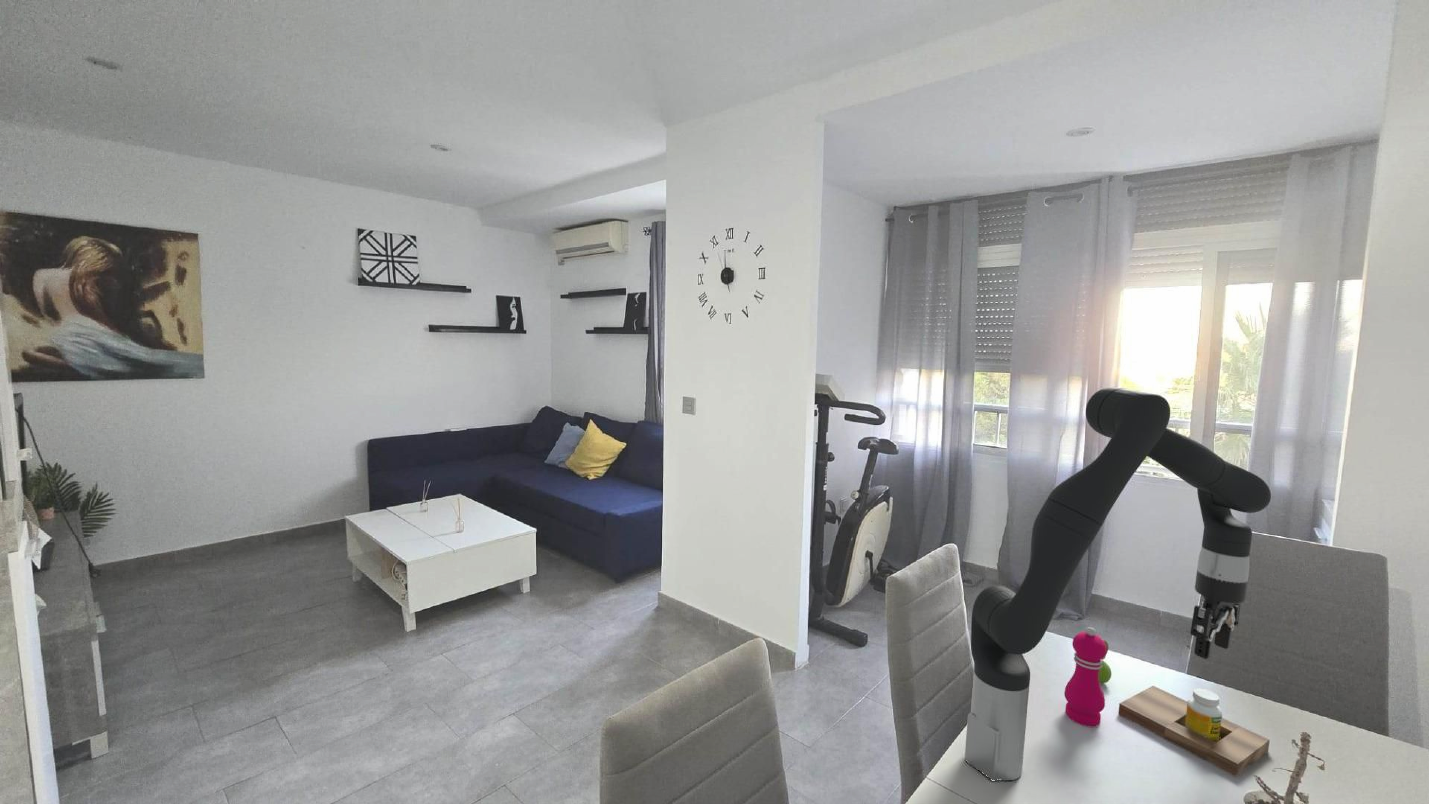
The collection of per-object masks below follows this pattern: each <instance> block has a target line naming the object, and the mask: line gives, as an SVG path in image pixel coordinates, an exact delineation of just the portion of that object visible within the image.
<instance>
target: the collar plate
mask: <svg viewBox="0 0 1429 804" xmlns="http://www.w3.org/2000/svg"><path fill="white" fill-rule="evenodd" d="M1187 703H1188V700H1185V699H1183V698H1180V697H1178V696H1177V695H1174V694H1173V693H1170V692H1167V691H1165V690H1163V689H1161V688H1159V687H1157V686H1155V685H1152V686H1150V687H1147V688H1145V689H1144V690H1142V691H1140V692H1138V693H1137V694H1135V695H1133V696H1131V697H1129V698H1126V699H1125V700H1123V701H1122V702H1121V701H1120V703H1119V704H1118V715H1119V716H1121V717H1123V718H1124V719H1126V720H1128V721H1130V722H1132V723H1135V724H1136V725H1137V726H1140V727H1142V728H1143V729H1145V730H1148V731H1149V732H1150V733H1153V734H1155V735H1157V736H1158V737H1161V738H1162V739H1164V740H1166V741H1168V742H1170V743H1172V744H1173V745H1176V747H1179V748H1181V749H1183V750H1185V751H1187V752H1189V753H1191V754H1193V755H1195V756H1197V757H1199V758H1200V759H1202V760H1205V761H1206V762H1208V763H1210V764H1212V765H1213V766H1216V767H1218V768H1219V769H1222V770H1223V771H1225V772H1227V773H1228V774H1230V775H1232V776H1234V777H1238V776H1239V775H1240V774H1242V773H1243V772H1244V771H1245V770H1247V769H1248V768H1249V767H1251V766H1252V765H1253V764H1254V763H1255V762H1258V760H1259V759H1262V757H1264V755H1266V754H1267V753H1268V752H1269V747H1270V739H1269V738H1267V737H1264V736H1262V735H1260V734H1258V733H1256V732H1253V730H1249V729H1247V728H1246V727H1244V726H1241V725H1239V724H1236V723H1234V722H1232V721H1230V720H1228V719H1226V718H1223V717H1222V719H1221V727H1220V735H1219V741H1218V742H1217V743H1216V742H1214V741H1212V740H1210V739H1208V738H1206V737H1204V736H1202V735H1200V734H1198V733H1196V732H1194V731H1192V730H1190V729H1188V728H1186V727H1185V720H1186V711H1187Z"/></svg>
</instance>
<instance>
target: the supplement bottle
mask: <svg viewBox="0 0 1429 804" xmlns="http://www.w3.org/2000/svg"><path fill="white" fill-rule="evenodd" d="M1187 702H1188V703H1187V711H1186V720H1185V726H1184V727H1186V728H1188V729H1190V730H1192V731H1194V732H1196V733H1198V734H1200V735H1202V736H1204V737H1206V738H1208V739H1210V740H1212V741H1214V742H1216V743H1217V742H1218V741H1220V738H1219V735H1220V727H1221V719H1222V718H1223V717H1222V716H1223V710H1222V709H1221V707H1220V706H1219V705H1220V697H1219V696H1218V694H1216V693H1215V692H1212V691H1210V690H1208V689H1204V688H1193V690H1192V697H1189V698H1188V700H1187Z"/></svg>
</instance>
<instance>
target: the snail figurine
mask: <svg viewBox="0 0 1429 804" xmlns="http://www.w3.org/2000/svg"><path fill="white" fill-rule="evenodd" d="M1101 639H1102V640H1103V641H1104V643H1105V645H1106V649H1107V652H1106V655H1105V657H1104V658H1102V661H1103V663H1102V668H1101V669H1099V684H1100V685H1102V684H1103V685H1104V684H1106V683H1108V682H1110V680H1111V678H1112V670H1111V667H1110V666H1109V665H1108V663H1107V662H1106V661H1104V660H1105V659H1106V656H1107V653H1108V651H1109V643H1108V641H1107V640H1106V639H1103V638H1101Z"/></svg>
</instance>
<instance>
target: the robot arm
mask: <svg viewBox="0 0 1429 804" xmlns="http://www.w3.org/2000/svg"><path fill="white" fill-rule="evenodd" d="M1170 417H1171V408H1170V404H1169V402H1168V400H1167V399H1166V398H1165V397H1163V396H1162V395H1160V394H1157V393H1153V392H1148V391H1143V390H1136V389H1132V388H1131V389H1130V388H1126V387H1117V386H1115V387H1111V386H1110V387H1105V388H1102V389H1100V390H1097V391H1096V392H1094V393H1093V395H1091V397H1090V398H1089V400H1088V401H1087V404H1086V407H1085V418H1086V421H1087V424H1088V425H1089V427H1091V429H1092V430H1093V431H1094V432H1097V433H1098V434H1100V436H1101V435H1102V436H1104V437H1106V438H1110V439H1109V441H1108V443H1107V444H1106V445H1105V447H1104V448H1103V450H1102V452H1101V453H1100V454H1099V455H1098V456H1097V458H1095V459H1094V460H1093V461H1092V462H1091V463H1090V464H1087V466H1085V467H1084V468H1082V469H1080V470H1079V471H1078V472H1076V473H1074V474H1072V475H1071V476H1069V477H1068V478H1066V479H1064V480H1063V481H1062V482H1060V484H1058V485H1057V486H1056V487H1054V488H1053V489H1052V491H1051V492H1050V493H1049V495H1048V496H1047V498H1046V500H1045V501H1044V503H1043V505H1042V507H1041V508H1040V510H1039V511H1038V514H1037V515H1036V517H1035V520H1034V522H1033V525H1032V530H1031V538H1030V539H1031V541H1030V559H1029V564H1028V570H1027V572H1026V574H1025V577H1024V579H1023V580H1022V582H1021V584H1020V586H1019V588H1018V590H1017V591H1016V592H1014V591H1013V590H1011V589H1010V588H1008V587H1007V586H1006V587H1005V586H1003V585H991V586H988V587H986V588H984V589H983V590H982V591H980V592H979V593H978V595H977V596H976V598H975V600H974V602H973V605H972V609H971V610H972V611H971V622H970V623H971V625H970V626H971V627H970V629H971V630H970V651H971V652H970V653H971V656H972V660H973V663H974V665H973V667H974V668H973V677H972V680H973V682H972V691H971V692H972V694H971V703H970V712H969V713H968V714H967V723H966V734H965V735H966V736H965V737H966V738H965V749H964V751H965V752H964V761H965V760H967V761H968V762H969V763H970V764H971V765H973V766H974V767H975V768H976V769H975V768H974V767H973V766H972V767H973V768H974V769H975V770H977V769H978V770H980V771H981V772H983V773H984V774H985V775H987V776H988V777H989V778H990V779H992V780H997V779H1001V780H1000V781H1002V780H1012V781H1016V780H1018V779H1019V778H1020V777H1021V776H1022V773H1023V764H1024V755H1025V754H1024V753H1025V752H1024V751H1025V742H1026V729H1027V717H1028V715H1027V714H1028V706H1029V703H1028V702H1029V694H1030V685H1031V684H1030V683H1031V670H1030V667H1029V664H1028V662H1027V661H1026V659H1025V657H1024V654H1026V653H1028V652H1031V651H1032V650H1033V649H1035V648H1036V646H1038V644H1039V643H1040V642H1041V641H1042V639H1043V638H1044V635H1045V634H1046V632H1047V630H1048V627H1049V626H1050V623H1051V621H1052V619H1053V616H1054V614H1055V612H1056V610H1057V607H1058V606H1059V603H1060V600H1061V598H1062V597H1063V594H1064V592H1065V590H1066V588H1067V586H1068V584H1069V582H1070V581H1071V579H1072V577H1073V575H1074V573H1075V571H1076V570H1077V568H1078V566H1079V564H1080V563H1081V561H1082V559H1083V557H1084V555H1085V554H1086V552H1087V551H1088V549H1089V547H1090V546H1091V545H1092V543H1093V542H1094V540H1095V539H1096V536H1097V535H1098V533H1099V531H1100V529H1101V528H1102V526H1103V525H1104V523H1105V522H1106V519H1107V517H1108V515H1109V513H1110V511H1111V509H1112V508H1113V507H1114V505H1115V503H1116V502H1117V500H1118V499H1119V497H1120V495H1121V494H1122V493H1123V491H1124V489H1125V488H1126V486H1127V484H1128V482H1129V481H1130V480H1131V478H1132V477H1133V476H1134V474H1135V473H1136V472H1137V470H1138V469H1139V467H1140V466H1141V465H1142V464H1143V462H1144V461H1145V460H1146V458H1147V457H1148V458H1150V459H1151V460H1153V461H1155V462H1156V463H1158V464H1159V465H1161V466H1162V467H1164V468H1165V469H1166V470H1168V471H1170V472H1171V473H1172V474H1174V475H1175V476H1177V477H1178V478H1179V479H1181V480H1182V481H1184V482H1185V483H1187V484H1188V485H1189V486H1192V487H1193V488H1195V489H1197V491H1196V492H1197V499H1198V504H1199V508H1200V513H1201V519H1202V522H1203V532H1202V533H1203V534H1202V540H1201V541H1202V542H1201V547H1200V552H1199V555H1198V559H1197V566H1196V567H1197V569H1196V574H1195V584H1194V590H1195V592H1196V593H1197V594H1199V595H1201V596H1202V597H1203V598H1204V600H1203V602H1201V604H1200V605H1197V604H1195V606H1194V607H1193V614H1192V619H1191V627H1190V635H1191V636H1193V637H1195V645H1194V646H1195V647H1194V655H1196V656H1197V657H1200V658H1202V659H1204V660H1207V659H1209V658H1210V657H1211V650H1212V642H1213V638H1214V642H1213V643H1214V645H1215V646H1217V647H1219V648H1222V649H1225V650H1227V649H1229V648H1230V647H1231V645H1230V644H1231V637H1232V632H1233V631H1234V630H1235V626H1236V627H1237V626H1238V625H1239V622H1240V621H1239V620H1240V611H1241V604H1242V603H1244V602H1245V601H1246V596H1247V589H1248V584H1249V583H1248V581H1249V575H1250V566H1251V565H1250V552H1251V546H1252V545H1251V544H1252V539H1253V530H1252V528H1251V527H1250V526H1249V525H1247V524H1246V523H1244V522H1243V521H1241V520H1239V519H1238V518H1235V516H1233V513H1232V510H1233V511H1237V512H1241V513H1247V514H1253V513H1258V512H1261V511H1263V510H1264V509H1266V508H1267V507H1268V506H1269V504H1270V503H1271V498H1272V493H1271V489H1270V487H1269V485H1268V484H1267V483H1266V482H1265V481H1264V480H1263V478H1262V477H1260V476H1258V475H1256V474H1255V473H1253V472H1251V471H1248V470H1246V469H1245V468H1242V467H1240V466H1238V465H1236V464H1233V463H1230V462H1228V461H1226V460H1224V459H1223V458H1222V457H1221V456H1219V455H1218V454H1216V453H1215V452H1214V451H1213V450H1212V449H1210V448H1208V447H1207V446H1205V445H1203V444H1202V443H1200V442H1198V441H1196V440H1195V439H1192V438H1190V437H1189V436H1186V435H1183V434H1182V433H1179V432H1178V431H1174V430H1172V429H1170V428H1168V424H1169V422H1170ZM969 763H968V764H969ZM970 764H969V765H970ZM971 765H970V766H971ZM978 770H977V771H978ZM981 772H980V773H981ZM985 775H984V776H985ZM989 778H988V779H989ZM1017 778H1018V779H1017ZM990 779H989V780H990ZM1015 779H1016V780H1015ZM997 781H998V780H997Z"/></svg>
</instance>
